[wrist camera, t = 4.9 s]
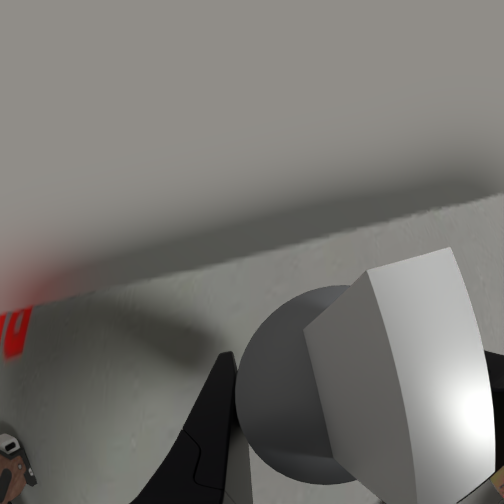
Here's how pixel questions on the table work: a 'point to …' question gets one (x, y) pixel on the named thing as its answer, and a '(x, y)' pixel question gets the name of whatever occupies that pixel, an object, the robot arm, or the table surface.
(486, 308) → the table surface
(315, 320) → the grey plug
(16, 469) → the toy gun
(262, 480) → the table surface
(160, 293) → the table surface
